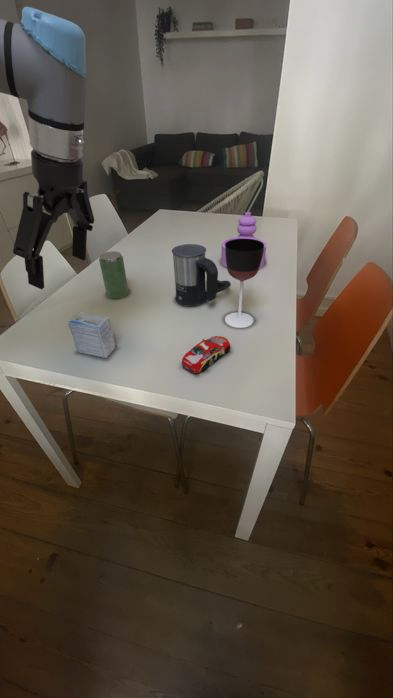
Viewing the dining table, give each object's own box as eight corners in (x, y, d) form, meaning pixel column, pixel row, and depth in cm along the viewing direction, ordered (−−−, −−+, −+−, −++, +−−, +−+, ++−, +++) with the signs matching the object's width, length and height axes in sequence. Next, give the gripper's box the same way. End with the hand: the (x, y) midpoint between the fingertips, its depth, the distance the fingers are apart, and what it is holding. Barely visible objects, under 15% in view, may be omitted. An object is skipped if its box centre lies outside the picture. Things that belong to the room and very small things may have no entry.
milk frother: (169, 303, 91) (165, 252, 82) (193, 280, 102) (191, 234, 93) (214, 313, 86) (215, 261, 77) (234, 288, 97) (237, 240, 88)
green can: (104, 298, 94) (95, 259, 87) (109, 288, 99) (102, 250, 92) (126, 298, 94) (119, 259, 86) (130, 288, 99) (124, 250, 92)
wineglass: (257, 328, 80) (266, 251, 68) (223, 328, 81) (226, 251, 68) (253, 311, 87) (261, 238, 74) (221, 312, 87) (224, 238, 75)
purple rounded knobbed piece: (263, 272, 106) (268, 232, 98) (218, 269, 109) (219, 230, 101) (265, 245, 126) (269, 210, 118) (226, 243, 128) (228, 209, 120)
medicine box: (116, 348, 75) (109, 316, 70) (106, 359, 72) (98, 327, 66) (88, 342, 77) (79, 311, 72) (76, 352, 74) (66, 321, 68)
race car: (216, 340, 77) (217, 326, 74) (234, 349, 74) (235, 335, 71) (177, 366, 69) (176, 352, 67) (195, 378, 66) (195, 363, 64)
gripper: (22, 178, 40) (33, 309, 54) (118, 152, 59) (107, 254, 73) (-31, 156, 40) (-6, 291, 54) (81, 136, 59) (78, 241, 73)
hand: (59, 270), depth 64 cm, fingers open, 13 cm apart
